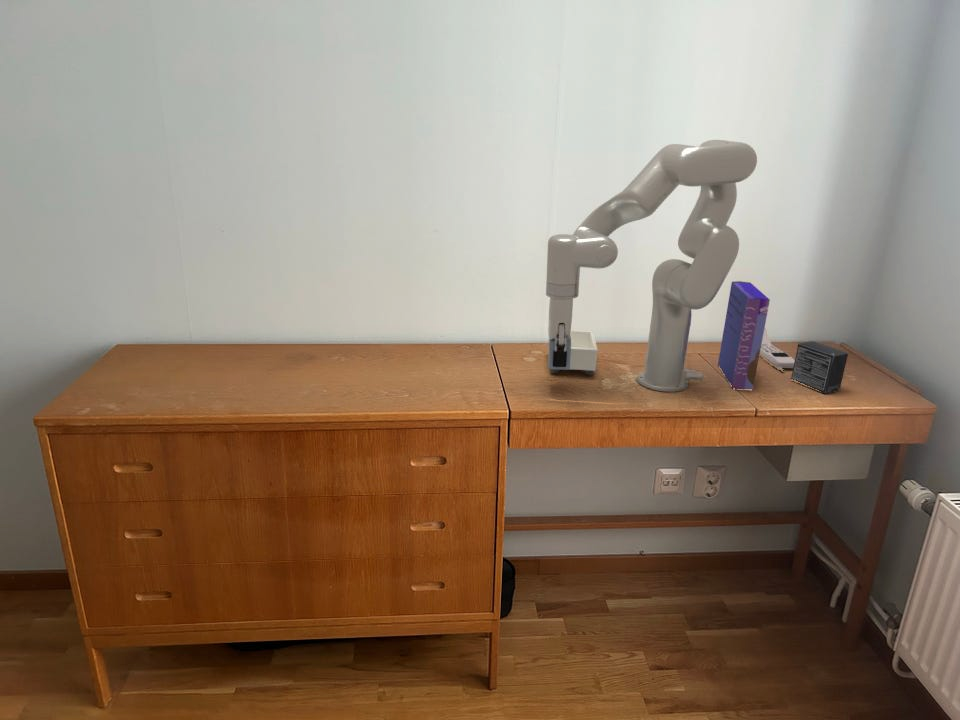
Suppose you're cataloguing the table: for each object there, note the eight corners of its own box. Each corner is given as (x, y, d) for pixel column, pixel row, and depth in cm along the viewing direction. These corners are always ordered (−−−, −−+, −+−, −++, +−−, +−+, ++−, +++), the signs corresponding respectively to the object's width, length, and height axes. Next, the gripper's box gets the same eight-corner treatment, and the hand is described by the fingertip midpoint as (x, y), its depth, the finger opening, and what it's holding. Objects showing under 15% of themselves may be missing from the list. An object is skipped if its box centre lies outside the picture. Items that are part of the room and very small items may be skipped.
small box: (841, 391, 177) (850, 352, 174) (825, 395, 174) (834, 355, 170) (805, 377, 186) (813, 339, 182) (789, 380, 183) (797, 343, 179)
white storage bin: (590, 357, 192) (592, 331, 190) (594, 377, 178) (597, 350, 175) (548, 354, 193) (550, 329, 190) (549, 374, 178) (551, 347, 176)
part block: (568, 362, 170) (570, 335, 167) (569, 369, 165) (571, 341, 163) (548, 361, 170) (549, 334, 168) (548, 369, 166) (549, 341, 163)
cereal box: (752, 391, 175) (770, 298, 166) (733, 390, 175) (749, 297, 167) (735, 367, 191) (750, 281, 183) (717, 365, 191) (731, 280, 183)
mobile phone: (763, 325, 210) (804, 353, 186) (760, 344, 212) (800, 374, 188) (744, 325, 209) (782, 353, 186) (741, 344, 211) (778, 373, 188)
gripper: (545, 279, 169) (543, 349, 176) (546, 298, 153) (543, 375, 160) (576, 280, 169) (572, 350, 175) (581, 299, 153) (576, 376, 159)
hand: (559, 361), depth 167 cm, fingers closed on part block, 5 cm apart
